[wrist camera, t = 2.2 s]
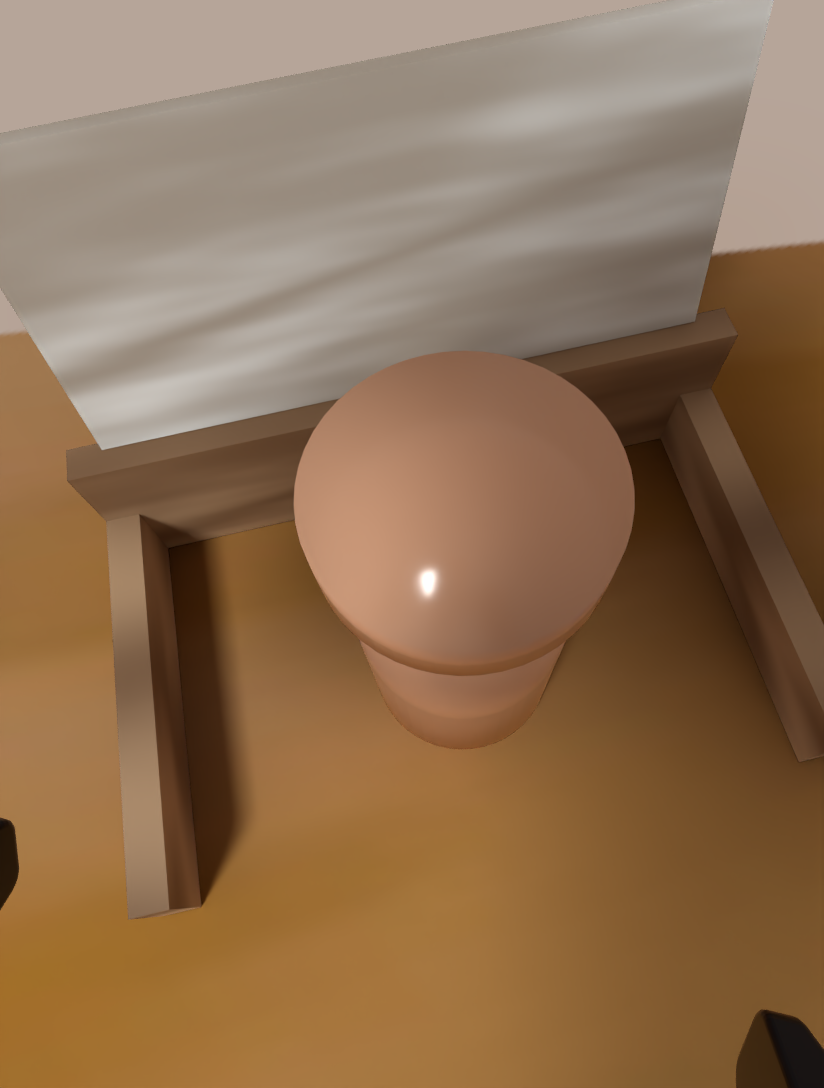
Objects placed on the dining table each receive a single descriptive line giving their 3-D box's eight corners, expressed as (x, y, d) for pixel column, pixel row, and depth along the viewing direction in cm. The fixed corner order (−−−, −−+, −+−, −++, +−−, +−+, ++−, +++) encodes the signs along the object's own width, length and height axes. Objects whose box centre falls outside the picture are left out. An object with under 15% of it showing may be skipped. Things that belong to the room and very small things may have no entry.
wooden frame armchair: (832, 754, 21) (1295, 591, 9) (164, 915, 20) (-229, 956, 9) (655, 358, 27) (806, -43, 15) (132, 472, 26) (-130, 142, 15)
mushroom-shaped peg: (582, 734, 22) (687, 604, 12) (387, 780, 22) (324, 689, 12) (526, 555, 24) (574, 322, 14) (350, 596, 24) (271, 388, 14)
